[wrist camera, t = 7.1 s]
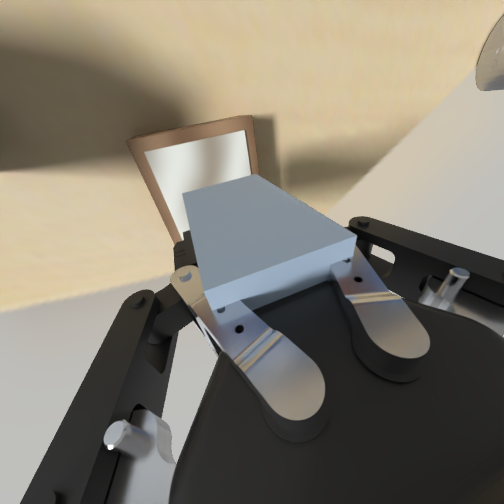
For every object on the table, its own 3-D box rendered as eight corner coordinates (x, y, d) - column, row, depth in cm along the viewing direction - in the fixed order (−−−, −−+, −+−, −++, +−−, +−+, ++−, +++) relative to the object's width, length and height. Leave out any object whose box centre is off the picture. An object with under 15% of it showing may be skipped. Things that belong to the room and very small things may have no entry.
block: (256, 173, 13) (356, 235, 6) (264, 236, 16) (339, 325, 9) (182, 193, 12) (203, 291, 5) (205, 255, 15) (238, 371, 8)
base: (239, 115, 21) (252, 115, 18) (254, 209, 28) (266, 222, 25) (132, 137, 19) (125, 141, 16) (175, 233, 26) (176, 250, 22)
